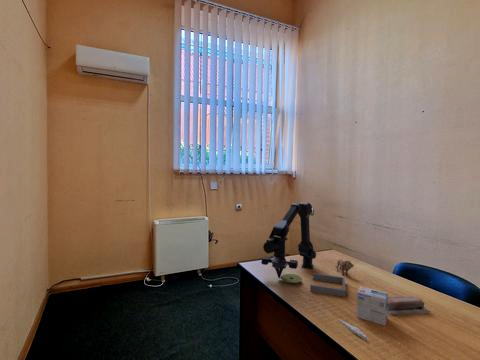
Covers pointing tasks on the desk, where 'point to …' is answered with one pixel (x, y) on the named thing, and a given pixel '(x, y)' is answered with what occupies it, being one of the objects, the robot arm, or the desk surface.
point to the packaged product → (406, 305)
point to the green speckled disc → (291, 278)
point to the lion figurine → (344, 266)
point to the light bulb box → (372, 305)
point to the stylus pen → (354, 329)
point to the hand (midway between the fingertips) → (279, 277)
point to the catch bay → (327, 289)
